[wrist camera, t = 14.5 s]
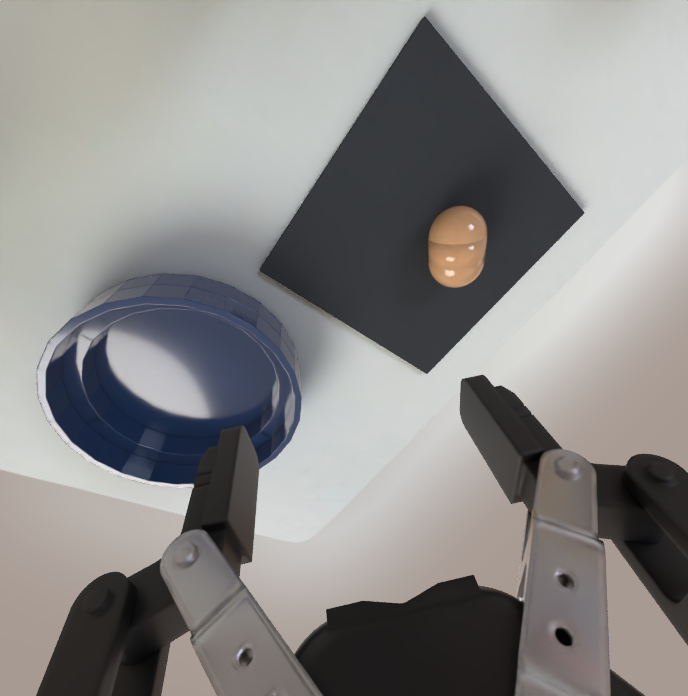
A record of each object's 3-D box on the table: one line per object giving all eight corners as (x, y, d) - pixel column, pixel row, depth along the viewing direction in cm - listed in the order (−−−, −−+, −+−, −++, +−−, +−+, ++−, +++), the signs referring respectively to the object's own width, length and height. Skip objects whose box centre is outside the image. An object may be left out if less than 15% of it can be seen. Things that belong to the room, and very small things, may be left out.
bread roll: (419, 213, 26) (480, 213, 24) (441, 199, 29) (497, 199, 26) (419, 292, 29) (473, 300, 27) (439, 273, 32) (489, 278, 30)
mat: (260, 268, 29) (259, 270, 29) (422, 18, 22) (425, 15, 22) (425, 371, 37) (427, 374, 37) (580, 211, 31) (584, 212, 30)
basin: (18, 297, 28) (-30, 327, 23) (271, 253, 29) (269, 273, 24) (134, 464, 38) (115, 505, 34) (315, 428, 39) (318, 463, 35)
